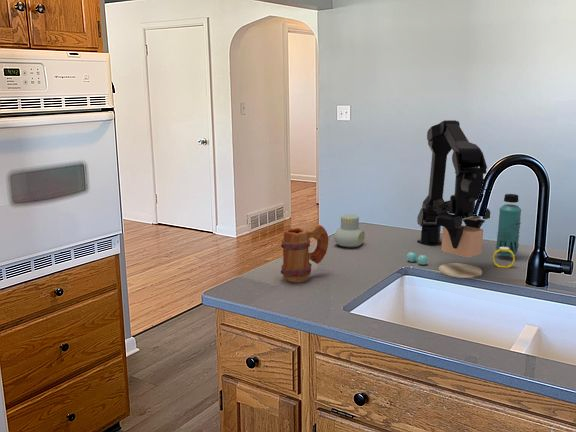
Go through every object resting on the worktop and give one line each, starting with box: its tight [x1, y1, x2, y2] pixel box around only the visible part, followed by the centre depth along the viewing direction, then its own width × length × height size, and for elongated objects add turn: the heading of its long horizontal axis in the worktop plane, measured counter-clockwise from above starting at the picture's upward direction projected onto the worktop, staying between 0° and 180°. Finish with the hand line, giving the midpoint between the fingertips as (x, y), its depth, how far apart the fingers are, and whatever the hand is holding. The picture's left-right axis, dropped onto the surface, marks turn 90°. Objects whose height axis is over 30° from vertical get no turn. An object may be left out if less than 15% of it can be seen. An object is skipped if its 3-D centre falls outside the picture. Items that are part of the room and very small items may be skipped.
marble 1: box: [406, 251, 418, 263], centre depth 176 cm, size 3×3×3 cm
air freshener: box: [333, 214, 366, 248], centre depth 193 cm, size 11×8×10 cm
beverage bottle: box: [495, 193, 522, 257], centre depth 177 cm, size 6×7×20 cm
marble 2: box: [416, 254, 428, 266], centre depth 173 cm, size 3×3×3 cm
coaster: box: [438, 262, 483, 279], centre depth 167 cm, size 12×12×1 cm
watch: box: [492, 247, 516, 269], centre depth 170 cm, size 6×3×6 cm, turn 71°
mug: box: [280, 223, 329, 284], centre depth 160 cm, size 15×8×15 cm, turn 118°
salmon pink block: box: [440, 224, 484, 259], centre depth 165 cm, size 6×9×7 cm
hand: (461, 245), depth 165 cm, fingers closed on salmon pink block, 6 cm apart
